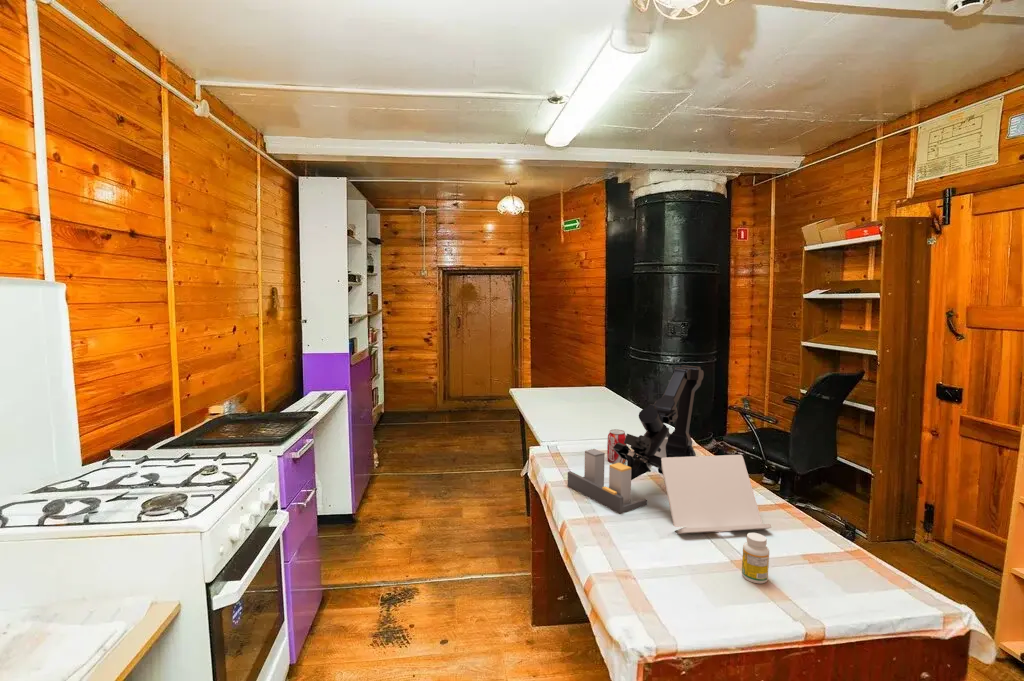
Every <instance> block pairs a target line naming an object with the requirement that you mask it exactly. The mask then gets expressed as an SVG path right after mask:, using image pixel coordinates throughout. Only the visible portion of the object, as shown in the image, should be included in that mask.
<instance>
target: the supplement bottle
mask: <svg viewBox="0 0 1024 681" xmlns="http://www.w3.org/2000/svg"><path fill="white" fill-rule="evenodd" d="M767 542H768V541H767V537H766V535H764V534H761V533H759V532H758V533H757V532H748V533H747V535H746V542H744V543H743V545H742V559H741V560H742V561H741V575H742V577H743V578H744V579H745V580H747V581H748V582H750V583H753V584H760V585H761V584H765V583H767V582H768V579H769V564H770V549H769V548H768V546H767V544H768V543H767Z"/></svg>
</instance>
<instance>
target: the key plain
mask: <svg viewBox="0 0 1024 681" xmlns="http://www.w3.org/2000/svg"><path fill="white" fill-rule="evenodd" d="M605 455H606V454H605V452H603V451H601V450H598V449H595V448H591V449H587V450H584V476H583V477H584V478H585V479H587V480H589V481H592V482H594V483H596V484H598V485H600V486H602V487H605Z"/></svg>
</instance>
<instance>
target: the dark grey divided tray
mask: <svg viewBox="0 0 1024 681" xmlns="http://www.w3.org/2000/svg"><path fill="white" fill-rule="evenodd" d="M567 487H568V488H570V489H573V490H574V491H576V492H578V493H580V494H581V495H583V496H585V497H587V498H589V499H591V500H593V501H594V502H597V503H599V504H600V505H602V506H604V507H606V508H607V509H610V510H612V511H613V512H615V513H617V514H618V515H622V514H624V513H628V512H631V511H634V510H637V509H640V508H644V507H646V506H648V499H647V498H642V499H639V500H635V501H631V503H628V504H625V505H623V497H622V496H620V495H618V494H617V492H616V491H614V490H612V489H610V488H609V486H606V485H604V487H602V486H600V485H598V484H596V483H594V482H592V481H589V480H587V479H585V478H584V476H581V475H579V474H577V473H575V472H573V471H567Z"/></svg>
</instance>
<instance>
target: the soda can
mask: <svg viewBox="0 0 1024 681" xmlns="http://www.w3.org/2000/svg"><path fill="white" fill-rule="evenodd" d="M626 435H627V434H626V431H625V430H622V429H617V428H616V429H610V430H609V433H608V435H607V444H606V445H607V448H606V449H607V451H606V452H607V454H606V456H607V461H608V462H609V463H610V464H615V463H622V464H625V463H626V461H627V460H625V459H622V458H621V457H620V456H619V455H618V454H617V453H616V451H615V450H614V449H613V448H614V446H615V445H616V443H622V444H624V441H625V438H626ZM624 445H627V446H628V444H624Z"/></svg>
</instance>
